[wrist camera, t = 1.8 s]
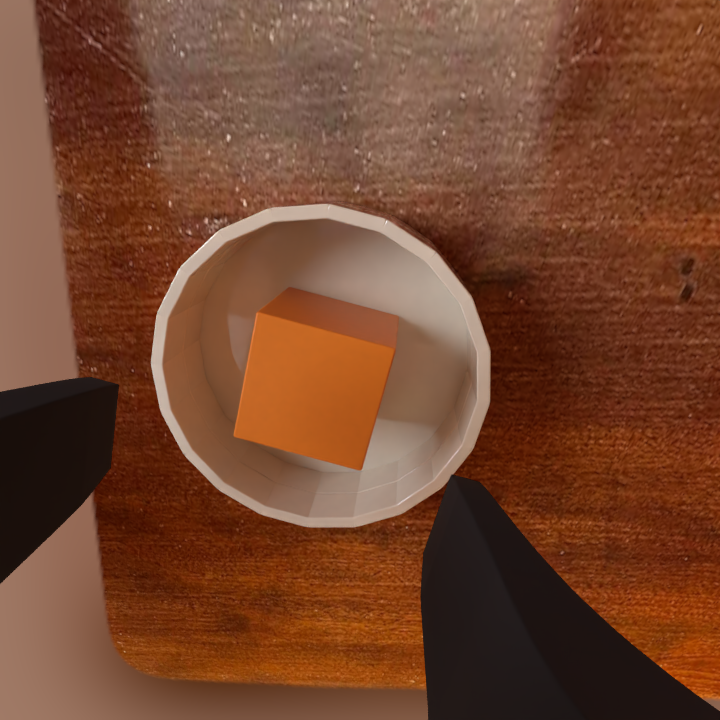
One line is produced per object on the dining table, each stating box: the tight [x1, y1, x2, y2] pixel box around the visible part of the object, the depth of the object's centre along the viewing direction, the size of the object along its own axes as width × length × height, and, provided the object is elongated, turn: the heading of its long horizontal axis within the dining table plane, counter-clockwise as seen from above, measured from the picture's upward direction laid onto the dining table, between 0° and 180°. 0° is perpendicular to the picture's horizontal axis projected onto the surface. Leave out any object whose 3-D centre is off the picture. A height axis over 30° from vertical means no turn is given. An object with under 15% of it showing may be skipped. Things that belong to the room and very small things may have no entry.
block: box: [234, 287, 399, 471], centre depth 17 cm, size 4×4×4 cm
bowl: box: [151, 202, 491, 527], centre depth 17 cm, size 10×10×4 cm
